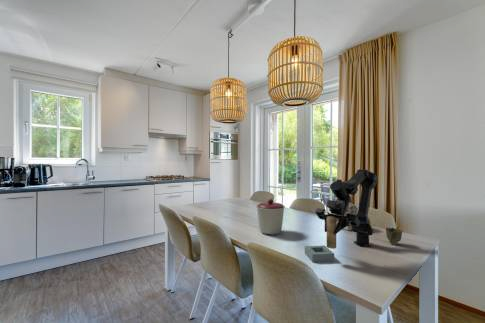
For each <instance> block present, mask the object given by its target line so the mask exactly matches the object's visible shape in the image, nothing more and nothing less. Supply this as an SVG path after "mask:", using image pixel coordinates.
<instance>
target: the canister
mask: <svg viewBox="0 0 485 323" xmlns="http://www.w3.org/2000/svg"><path fill="white" fill-rule="evenodd" d="M255 208H256V209H257V210H256V211H257V218H258V219H257V220H258V225H259V226H258V227H259V231H260V232H261V233H262V234H264V235H271V236H272V235H278V234H280V233H281V232H282V228H283V224H284V222H283V221H284V215H285V214H284V211H285V209H286V206H285V205H283V204H282V203H280V202H274V200H273V198H269V199H268V200H267V201H266V202H260V203H258V204H256V206H255Z"/></svg>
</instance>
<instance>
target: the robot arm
mask: <svg viewBox="0 0 485 323" xmlns="http://www.w3.org/2000/svg"><path fill="white" fill-rule="evenodd" d="M378 179H379V178H378V175H377V174H376V173H374V172H372V171H369V170H368V169H360V168H359V169H356V172H355V173H354V175H353V176H352V177H350V178H349V179H347V180H344V181H343V180H342V179H337V180H336V181H333V182H332V183H331V184H330V185H329V189H330V191H331V192H332V194H333V195H334V197H335V198H336V200H330V199H327V200H326V201H327V202H326V205H325V207H326V208H328V210H329V211H327V210H326V209H325V208H320V207H318V208H316V209H315V211H314V212H315V214H316V216H317V217H318V219H320V220H323V221H324V232H325V233H327V217H328V216H331V217H336V219H339V221H338V224H337V226H336V228H335V231H334V234H336V235H337V234H338V233H339V232H341V231H342V230H343V228H345V227H347V226H349V223H350V224H351V225H352V230H351V231H352V233H356V234H355V236H356V240H354V241H353V243H354V244H356V245H357V246H359V247H372V246H373V244H370V236H373V233H374V231H373V227H372V226H371V220H370V218H369V216H368V215H369V209H370V203H371V197H372V196H371V195H372V191H373V189H374V188H375V187H376V186H377V183H378V181H379V180H378ZM359 185H360V186H361V192H360V196H359V197H360V199H359V202H358V203H359V204H358V213H357V214H351V213H347V214H346V216H344V215H345V213H346V212H348V210H347V208H348V205H349V203H351V204H353V203H352V202H353V200H352V197H351V195H352V196H355V195H356V194H357V193H358V191H359ZM350 221H351V222H350Z"/></svg>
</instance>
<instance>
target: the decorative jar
mask: <svg viewBox="0 0 485 323" xmlns="http://www.w3.org/2000/svg"><path fill="white" fill-rule="evenodd" d="M358 209H359V207H357V206H356V205H355V204H353V203H349V205H348V208H347V210H348V212H346V213H345V215H344V216H346V214H347V213H351V214H357V213H358ZM338 221H339V219H336V226H337V224H338ZM350 222H351V221H350ZM342 230H344V231H348V232H349V231H353V230H352V225H351V224H350V223H349V226H347V227H345V228H343V229H342Z"/></svg>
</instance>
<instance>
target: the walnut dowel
mask: <svg viewBox="0 0 485 323" xmlns="http://www.w3.org/2000/svg"><path fill="white" fill-rule="evenodd" d="M335 228H336V217H331V216H328V217H327V232H326V247H327V248H328V249H330V250H331V249H332V250H333V249H334V250H335V249H337V234H334V231H335Z"/></svg>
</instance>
